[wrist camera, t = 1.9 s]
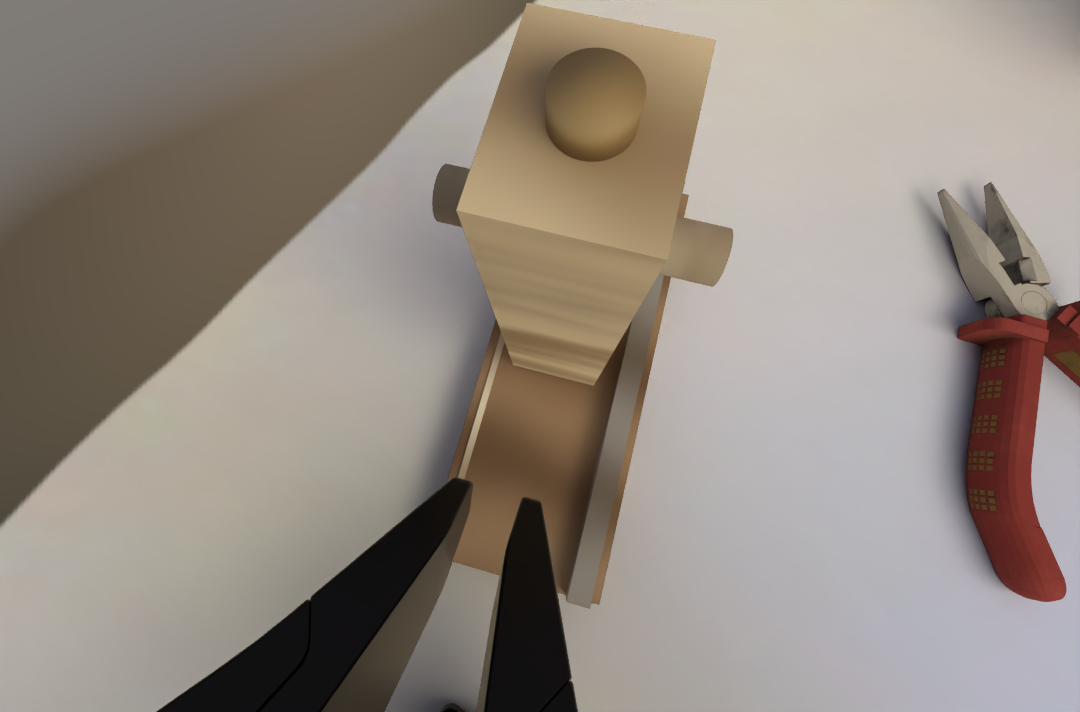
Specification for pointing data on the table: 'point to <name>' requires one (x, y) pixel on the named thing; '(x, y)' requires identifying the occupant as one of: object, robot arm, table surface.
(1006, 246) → the pliers
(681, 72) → the beige boxy piece
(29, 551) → the table surface
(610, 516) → the board
